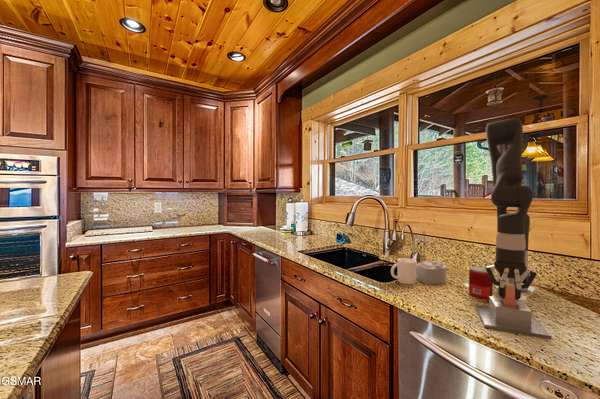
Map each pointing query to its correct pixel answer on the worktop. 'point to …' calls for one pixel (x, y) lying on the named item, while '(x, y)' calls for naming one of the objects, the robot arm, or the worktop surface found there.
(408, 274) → the mug
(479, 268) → the canned food
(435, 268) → the lumpy-topped squat cylinder
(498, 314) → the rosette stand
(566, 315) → the worktop surface
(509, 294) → the stepped block
